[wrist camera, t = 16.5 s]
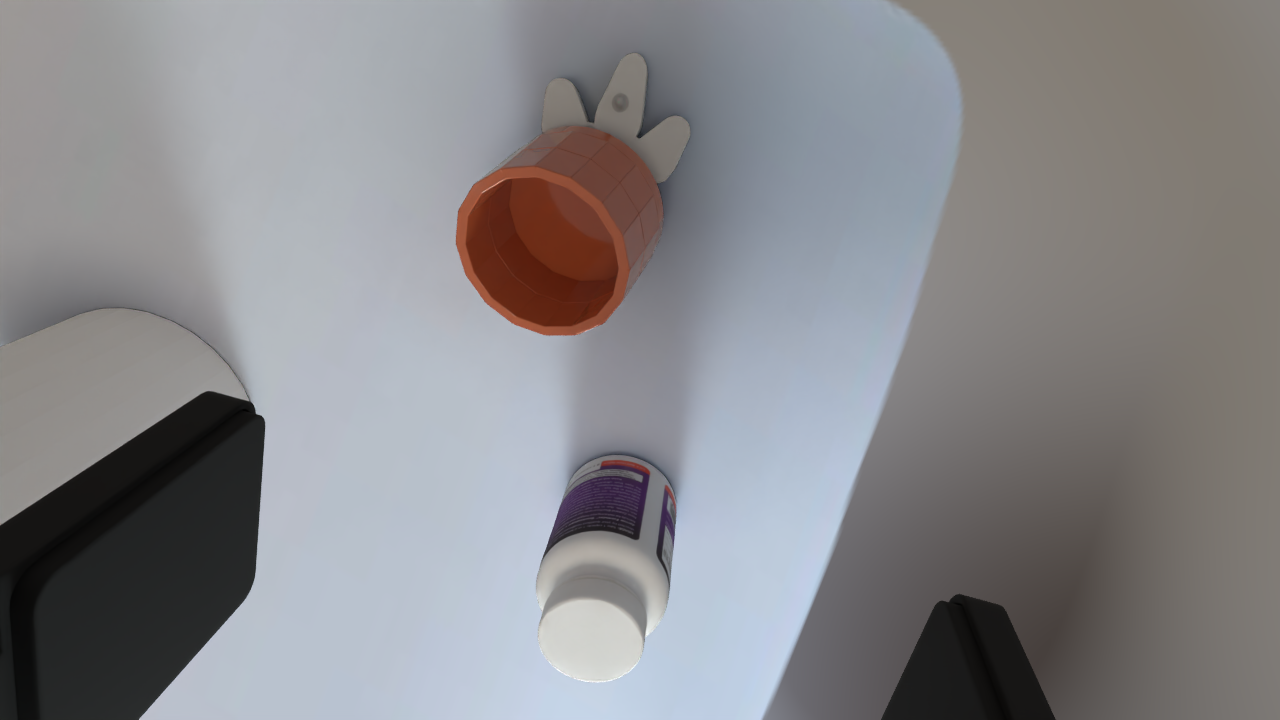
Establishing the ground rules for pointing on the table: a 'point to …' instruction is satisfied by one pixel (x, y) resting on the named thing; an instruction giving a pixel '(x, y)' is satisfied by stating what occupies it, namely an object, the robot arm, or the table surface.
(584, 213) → the small cup
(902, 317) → the table surface
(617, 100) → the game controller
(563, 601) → the pill bottle
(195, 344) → the bottle
